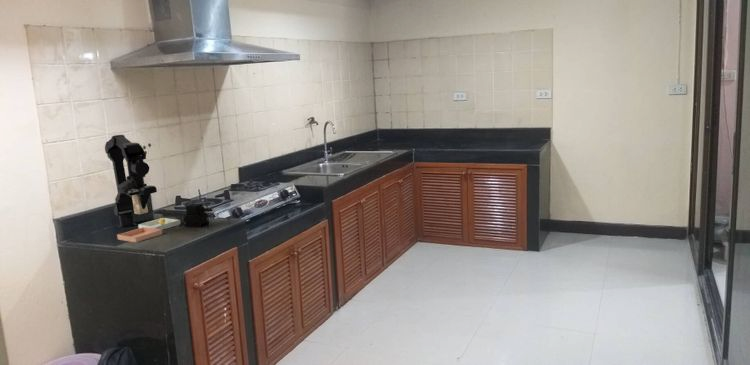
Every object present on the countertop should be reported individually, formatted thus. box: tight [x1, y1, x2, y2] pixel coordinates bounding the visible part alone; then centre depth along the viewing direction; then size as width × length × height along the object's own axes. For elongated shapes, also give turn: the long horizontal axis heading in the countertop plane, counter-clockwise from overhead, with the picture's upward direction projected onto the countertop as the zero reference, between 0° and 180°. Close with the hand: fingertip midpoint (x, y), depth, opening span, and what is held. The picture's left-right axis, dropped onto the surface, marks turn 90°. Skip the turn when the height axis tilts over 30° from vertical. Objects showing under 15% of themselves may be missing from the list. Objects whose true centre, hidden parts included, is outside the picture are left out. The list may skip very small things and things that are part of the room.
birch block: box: [132, 195, 149, 215], centre depth 259 cm, size 4×4×8 cm
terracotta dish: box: [116, 227, 163, 243], centre depth 257 cm, size 13×13×2 cm
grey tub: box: [137, 217, 181, 231], centre depth 273 cm, size 13×13×2 cm
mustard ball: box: [158, 217, 166, 225], centre depth 277 cm, size 3×3×3 cm
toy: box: [183, 203, 213, 229], centre depth 268 cm, size 8×14×10 cm, turn 66°
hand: (140, 208), depth 259 cm, fingers closed on birch block, 4 cm apart
